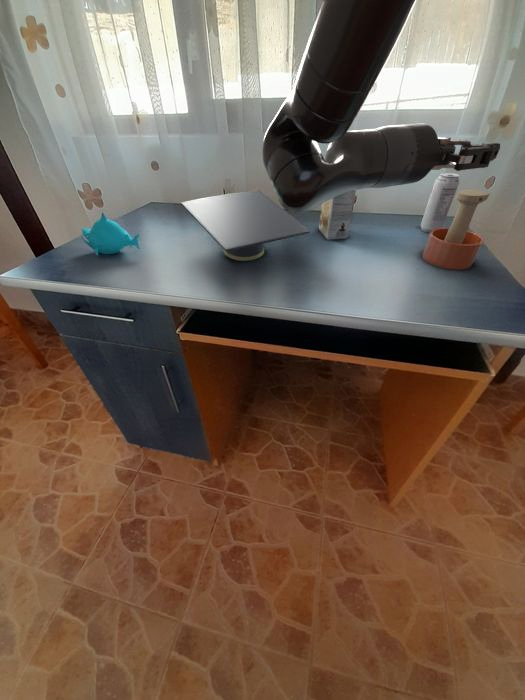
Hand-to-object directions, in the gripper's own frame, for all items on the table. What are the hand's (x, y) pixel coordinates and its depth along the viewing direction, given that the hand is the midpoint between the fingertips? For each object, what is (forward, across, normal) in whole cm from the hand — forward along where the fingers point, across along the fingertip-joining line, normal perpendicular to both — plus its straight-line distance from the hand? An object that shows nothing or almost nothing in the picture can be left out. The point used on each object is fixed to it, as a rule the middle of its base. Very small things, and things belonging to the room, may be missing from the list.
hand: (470, 148), depth 48 cm
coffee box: (+2, +35, +26) cm, 44 cm away
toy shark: (-58, +49, +25) cm, 80 cm away
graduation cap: (-27, +34, +25) cm, 50 cm away
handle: (+17, +7, +25) cm, 31 cm away
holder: (+17, +7, +26) cm, 32 cm away
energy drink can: (+31, +24, +26) cm, 47 cm away
